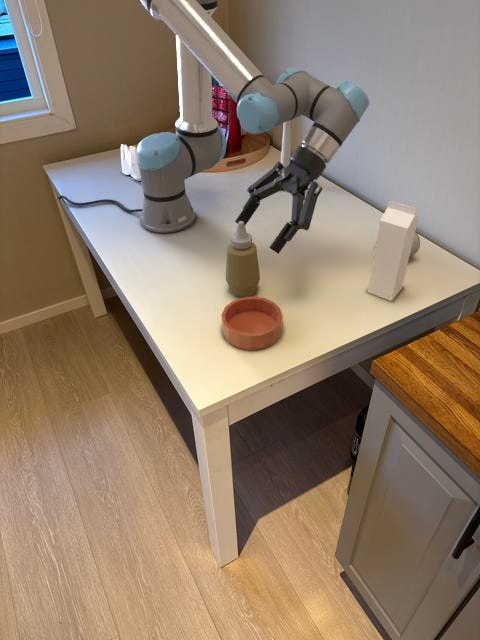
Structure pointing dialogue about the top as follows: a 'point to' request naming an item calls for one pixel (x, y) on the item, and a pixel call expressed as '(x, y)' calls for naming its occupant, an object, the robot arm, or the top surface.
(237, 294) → the squeeze bottle
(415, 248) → the ceramic mug
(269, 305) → the holder
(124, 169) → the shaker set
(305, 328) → the top surface
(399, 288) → the milk
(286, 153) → the candlestick
